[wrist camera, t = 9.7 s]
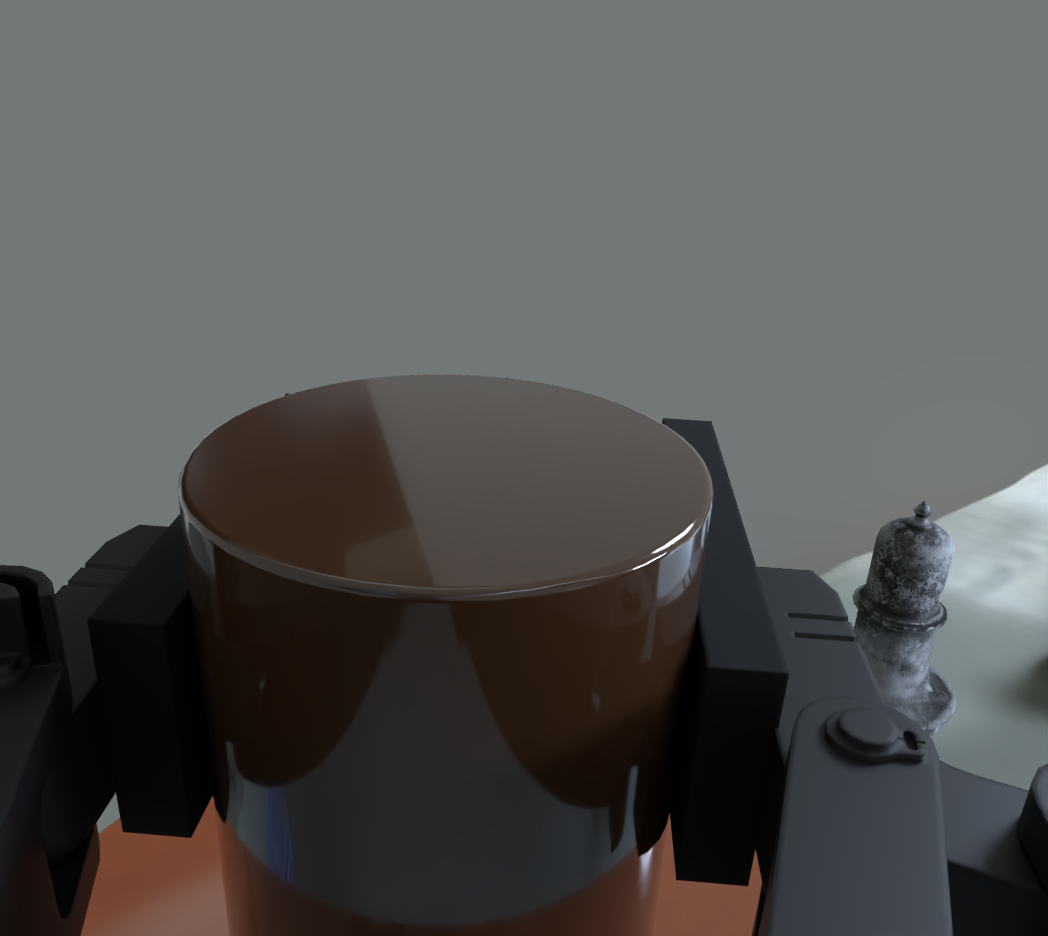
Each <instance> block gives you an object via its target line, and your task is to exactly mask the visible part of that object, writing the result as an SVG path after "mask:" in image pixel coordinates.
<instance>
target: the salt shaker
mask: <svg viewBox="0 0 1048 936" xmlns="http://www.w3.org/2000/svg"><path fill="white" fill-rule="evenodd" d="M914 511H915V513H916V516H912V517H909V518H900V519H896V520H893V521H890V522H889V523H887V524H886V525H885V526H883V527H882V528H881V530H880V532H879V533H878V536H877V538H876V543H875V547H874V551H873V556H872V560H871V565H870V569H869V573H868V578H867V582H866V584H864V585H862V586H860V587H859V588H857V589H856V590H855V592H854V595H853V601H854V604H855V605H856V607H857V609H858V613H857V617H856V622H855V626H854V632H855V634H856V636H857V642H859V643H860V645H861V647H862V650H863V652H864V654H865V656H866V659H867V661H868V663H869V666H870V668H871V670H872V672H873V675H874V677H875V679H876V681H877V684H878V686H879V688H880V690H881V693H882V695H883V697H884V699H885V702H886V704H887V706H889V707H892V708H893V709H895V710H897V711H898V712H900V713H902V714H903V715H905V716H907V717H908V718H910V719H912V720H913V721H915V722H916V723H917V724H918V725H919V726H920V727H921V728H922V729H923V730H924V731H925V732H926V733H927V734H928V735H929V736H930V738H932V737H933V736H934V735H935V734H936V732H937V731H938V730H939V729H940V727H941V725H942V724H944V723H946V722H947V721H948V720H949V719H950V718H951V716H952V715H953V714H954V710H955V704H956V700H955V697H954V693H953V690H952V689H951V687H950V686H949V685H948V683H947V682H946V681H945V679H944V678H943V677H942V676H941V675H940V674H939V673H938V672H936V671H935V670H934V669H933V668H932V667H930V666H929V665H928V654H929V651H930V647H931V643H932V639H933V636H934V632H935V629H937V628H940V627H942V626H943V625H944V624H945V623H946V620H947V616H948V614H947V611H946V608H945V607H944V606H943V605H942V603H941V602H940V601H941V597H942V593H943V590H944V586H945V582H946V578H947V575H948V571H949V567H950V563H951V559H952V556H953V543H952V540H951V538H950V537H949V535H948V534H947V533H946V531H944V530H943V529H942V528H941V527H939V526H938V525H936V524H935V523H932V522H931V521H930V520H928V519H927V517H928V516H930V515H932V512H931V510H930V507H929V506H928V505H927V502H925V501H924V502H922V504H919V505H918V507H916V508H914Z"/></svg>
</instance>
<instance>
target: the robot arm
mask: <svg viewBox="0 0 1048 936" xmlns="http://www.w3.org/2000/svg"><path fill="white" fill-rule="evenodd" d="M287 395H290V394H286V395H285V396H287ZM662 424H664V425H666V426H667V427H669V428H670V429H671V430H673V431H674V432H676V433H677V434H679V435H680V436H681V437H683V438H684V439H685V440H686V441H687V442H688V443H689V444H690V445H691V446H692V447H693V448H694V449H695V450H696V451H697V453H698V454H699V455H700V457H701V458H702V459H703V461H704V462H705V464H706V467H707V469H708V472H709V474H710V476H711V480H712V484H713V493H714V500H713V507H712V514H711V521H710V528H709V536H708V543H707V550H706V557H705V564H704V571H703V578H702V585H701V593H700V600H699V607H698V614H697V621H696V628H695V635H694V642H693V650H692V657H691V664H690V671H689V678H688V685H687V692H686V699H685V707H684V714H683V721H682V728H681V735H680V742H679V749H678V756H677V764H676V771H675V778H674V785H673V792H672V799H671V806H670V821H671V832H672V842H673V852H674V863H675V873H676V880H680V881H692V882H703V883H715V884H726V885H738V886H748V885H749V880H750V875H751V869H752V864H753V859H754V854H755V849H756V854H757V859H758V864H759V869H760V874H761V879H762V886H761V891H760V896H759V901H758V906H757V911H756V916H755V921H754V926H753V931H752V936H1048V764H1046V765H1044V766H1042V767H1040V768H1038V770H1037V772H1036V774H1035V777H1034V779H1033V781H1032V783H1031V786H1030V789H1029V791H1027V790H1024V789H1021V788H1017V787H1014V786H1010V785H1007V784H1004V783H1000V782H997V781H993V780H990V779H987V778H983V777H980V776H976V775H973V774H970V773H968V772H965V771H962V770H960V769H957V768H954V767H951V766H950V765H948V764H946V763H944V762H942V761H940V760H939V756H938V754H937V751H936V749H935V746H934V743H933V741H932V739H931V738H930V736H929V735H928V734H927V733H926V732H925V731H924V730H923V729H922V728H921V727H920V726H919V725H918V724H917V723H916V722H915V721H913V720H912V719H910V718H908V717H907V716H905V715H903V714H902V713H900V712H898V711H897V710H895V709H893V708H892V707H889V706H887V704H886V702H885V699H884V697H883V695H882V693H881V690H880V688H879V686H878V684H877V681H876V679H875V677H874V675H873V672H872V670H871V668H870V666H869V663H868V661H867V659H866V656H865V654H864V652H863V650H862V647H861V645H860V643H859V642H857V636H856V634H855V632H854V629H853V627H852V625H851V623H850V622H848V616H847V613H846V611H845V609H844V607H843V604H842V602H841V600H840V598H839V595H838V593H837V592H836V591H835V590H834V589H832V588H831V587H830V586H829V585H828V584H827V583H826V582H824V581H823V580H822V579H821V578H820V577H819V576H817V575H816V574H815V573H814V572H813V571H809V570H794V569H781V568H768V567H756V565H755V561H754V558H753V555H752V552H751V548H750V545H749V542H748V539H747V535H746V532H745V529H744V526H743V522H742V519H741V516H740V513H739V509H738V506H737V503H736V500H735V497H734V493H733V490H732V487H731V484H730V480H729V477H728V474H727V471H726V467H725V464H724V461H723V457H722V454H721V451H720V448H719V445H718V441H717V438H716V435H715V432H714V428H713V425H712V422H711V421H696V420H682V419H667V418H663V422H662ZM115 792H116V794H117V801H118V807H119V813H120V819H121V825H122V831H123V832H127V833H138V834H150V835H161V836H173V837H184V838H192V836H193V834H194V832H195V830H196V828H197V826H198V824H199V822H200V820H201V818H202V816H203V814H204V812H205V810H206V808H207V806H208V804H209V802H210V800H211V798H212V796H213V792H212V783H211V774H210V766H209V757H208V748H207V739H206V731H205V722H204V713H203V705H202V696H201V687H200V679H199V670H198V661H197V652H196V644H195V635H194V626H193V618H192V609H191V600H190V591H189V583H188V574H187V565H186V557H185V548H184V539H183V531H182V522H181V514H180V515H179V516H178V517H177V518H176V519H175V520H174V522H173V523H172V524H171V525H170V526H169V527H163V526H149V525H138V526H136V527H134V528H132V529H130V530H128V531H127V532H125V533H123V534H121V535H119V536H117V537H115V538H113V539H111V540H109V541H107V542H106V543H105V544H104V545H103V546H102V547H101V548H100V549H99V550H98V551H97V552H96V553H95V554H94V555H93V556H92V557H91V558H90V559H89V560H88V561H87V562H86V563H85V568H80V570H79V571H77V572H76V573H75V575H73V576H72V578H71V579H70V580H69V581H68V586H67V585H64V586H63V587H62V588H61V589H60V590H59V591H58V592H57V593H56V594H54V589H53V583H52V581H51V580H50V579H49V578H48V577H47V576H46V575H45V574H43V572H41V571H37V570H34V569H31V568H28V567H24V566H6V565H0V936H81V932H82V928H83V925H84V921H85V917H86V913H87V909H88V905H89V901H90V897H91V894H92V890H93V886H94V882H95V878H96V874H97V870H98V866H99V863H100V841H99V835H98V830H97V825H96V822H97V821H98V819H99V818H100V816H101V815H102V813H103V811H104V810H105V808H106V807H107V805H108V804H109V802H110V800H111V799H112V797H113V796H114V794H115Z"/></svg>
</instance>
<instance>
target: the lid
mask: <svg viewBox="0 0 1048 936" xmlns="http://www.w3.org/2000/svg"><path fill="white" fill-rule="evenodd" d="M178 495H179V504H180V513H181V522H182V531H183V539H184V548H185V557H186V565H187V574H188V583H189V591H190V600H191V609H192V618H193V626H194V635H195V644H196V652H197V661H198V670H199V679H200V687H201V696H202V705H203V713H204V722H205V731H206V739H207V748H208V757H209V766H210V774H211V783H212V792H213V796H212V798H211V800H210V802H209V804H208V806H207V808H206V810H205V812H204V814H203V816H202V818H201V820H200V822H199V824H198V826H197V828H196V830H195V832H194V834H193V836H192V838H184V837H173V836H161V835H150V834H138V833H127V832H123V831H122V825H121V819H120V818H119V819H118V820H116V821H115V822H114V823H112V824H111V825H110V826H108V827H107V828H106V829H104V830H103V831H102V832H100V833H99V834H98V835H99V841H100V863H99V866H98V870H97V874H96V878H95V882H94V886H93V890H92V894H91V897H90V901H89V905H88V909H87V913H86V917H85V921H84V925H83V928H82V932H81V936H752V931H753V926H754V921H755V916H756V911H757V906H758V901H759V896H760V891H761V886H762V879H761V874H760V869H759V864H758V859H757V854H756V849H755V854H754V859H753V864H752V869H751V875H750V880H749V885H748V886H738V885H726V884H715V883H703V882H692V881H680V880H676V873H675V863H674V852H673V842H672V832H671V821H670V806H671V799H672V792H673V785H674V778H675V771H676V764H677V756H678V749H679V742H680V735H681V728H682V721H683V714H684V707H685V699H686V692H687V685H688V678H689V671H690V664H691V657H692V650H693V642H694V635H695V628H696V621H697V614H698V607H699V600H700V593H701V585H702V578H703V571H704V564H705V557H706V550H707V543H708V536H709V528H710V521H711V514H712V507H713V500H714V493H713V484H712V480H711V476H710V474H709V472H708V469H707V467H706V464H705V462H704V461H703V459H702V458H701V457H700V455H699V454H698V453H697V451H696V450H695V449H694V448H693V447H692V446H691V445H690V444H689V443H688V442H687V441H686V440H685V439H684V438H683V437H681V436H680V435H679V434H677V433H676V432H674V431H673V430H671V429H670V428H669V427H667V426H666V425H664V424H662V423H660V422H658V421H657V420H655V419H653V418H651V417H649V416H647V415H645V414H643V413H641V412H638V411H636V410H634V409H632V408H629V407H627V406H624V405H621V404H618V403H616V402H613V401H610V400H607V399H604V398H601V397H597V396H594V395H590V394H587V393H584V392H580V391H576V390H571V389H567V388H562V387H558V386H553V385H548V384H542V383H537V382H531V381H523V380H515V379H508V378H497V377H486V376H468V375H410V376H395V377H381V378H372V379H364V380H356V381H349V382H343V383H337V384H332V385H327V386H322V387H317V388H313V389H309V390H305V391H301V392H297V393H293V394H290V395H287V396H283V397H280V398H277V399H274V400H271V401H268V402H266V403H263V404H260V405H258V406H255V407H253V408H251V409H248V410H246V411H244V412H242V413H240V414H238V415H236V416H234V417H232V418H230V419H229V420H227V421H225V422H224V423H222V424H221V425H219V426H218V427H216V428H214V429H213V430H212V431H211V432H210V433H208V434H207V435H206V436H205V437H204V438H203V439H202V440H200V441H199V442H198V444H197V445H196V446H195V447H194V449H193V450H192V451H191V453H190V454H189V455H188V457H187V460H186V462H185V464H184V466H183V468H182V471H181V474H180V478H179V486H178Z"/></svg>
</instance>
